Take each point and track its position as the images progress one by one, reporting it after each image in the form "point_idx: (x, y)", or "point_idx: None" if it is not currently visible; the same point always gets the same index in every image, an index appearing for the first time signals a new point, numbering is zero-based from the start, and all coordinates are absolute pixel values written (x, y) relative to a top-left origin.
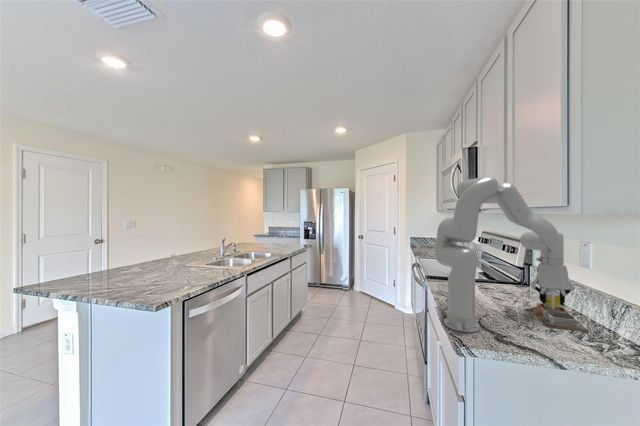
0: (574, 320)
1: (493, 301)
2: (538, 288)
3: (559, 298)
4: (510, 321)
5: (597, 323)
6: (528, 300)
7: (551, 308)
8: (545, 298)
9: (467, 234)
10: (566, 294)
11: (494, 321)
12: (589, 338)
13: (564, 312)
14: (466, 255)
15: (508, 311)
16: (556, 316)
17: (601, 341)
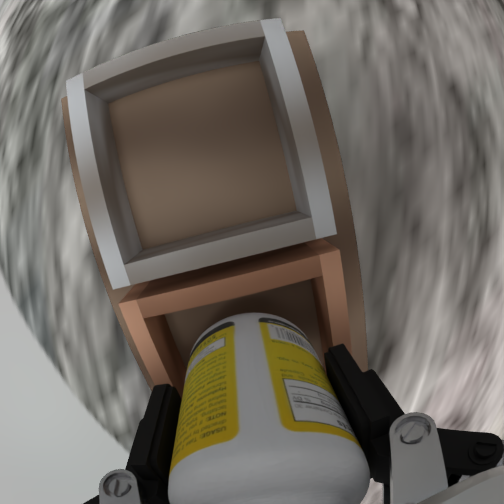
0: (100, 64)
1: (489, 371)
2: (473, 461)
3: (178, 432)
4: (460, 60)
5: (32, 330)
6: None
7: (261, 317)
8: (337, 398)
9: None
10: (102, 494)
11: (494, 42)
12: (89, 12)
13: (152, 270)
14: None
15: (477, 247)
16: (222, 230)
17: (52, 18)
